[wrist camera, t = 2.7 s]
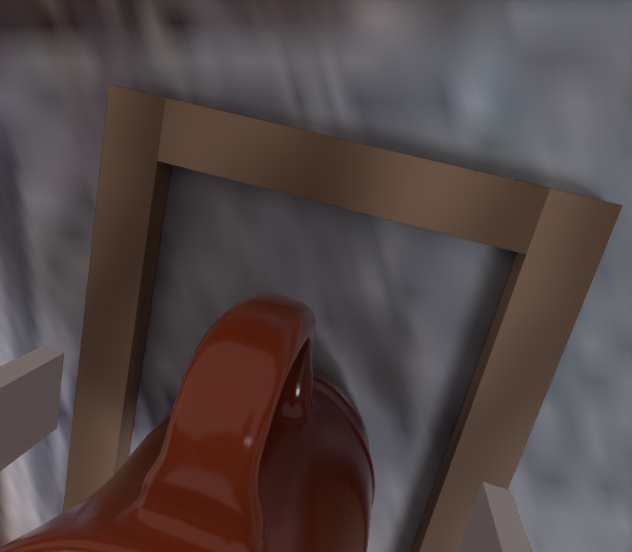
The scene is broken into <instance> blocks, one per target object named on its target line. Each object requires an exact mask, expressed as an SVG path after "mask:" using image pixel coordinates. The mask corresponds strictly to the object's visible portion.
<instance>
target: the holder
mask: <svg viewBox="0 0 632 552" xmlns="http://www.w3.org/2000/svg"><path fill="white" fill-rule="evenodd" d="M171 165H175V166H179V167H183V168H187V169H191V170H195V171H199V172H203V173H207V174H211V175H215V176H219V177H223V178H227V179H230V180H234V181H238V182H242V183H246V184H250V185H254V186H258V187H262V188H266V189H270V190H274V191H278V192H282V193H286V194H289V195H293V196H297V197H301V198H305V199H309V200H313V201H317V202H321V203H325V204H329V205H333V206H337V207H341V208H345V209H348V210H352V211H356V212H360V213H364V214H368V215H372V216H376V217H380V218H384V219H388V220H392V221H396V222H400V223H404V224H408V225H411V226H415V227H419V228H423V229H427V230H431V231H435V232H439V233H443V234H447V235H451V236H455V237H459V238H463V239H467V240H470V241H474V242H478V243H482V244H486V245H490V246H494V247H498V248H502V249H506V250H510V251H514V252H517V254H516V257H515V259H514V262H513V265H512V268H511V271H510V273H509V276H508V279H507V282H506V285H505V288H504V290H503V293H502V296H501V299H500V302H499V304H498V307H497V310H496V313H495V316H494V319H493V321H492V324H491V327H490V330H489V333H488V335H487V338H486V341H485V344H484V347H483V350H482V352H481V355H480V358H479V361H478V364H477V366H476V369H475V372H474V375H473V378H472V381H471V383H470V386H469V389H468V392H467V395H466V397H465V400H464V403H463V406H462V409H461V412H460V414H459V417H458V420H457V423H456V426H455V428H454V431H453V434H452V437H451V440H450V443H449V445H448V448H447V451H446V454H445V457H444V459H443V462H442V465H441V468H440V471H439V474H438V476H437V479H436V482H435V485H434V488H433V490H432V493H431V496H430V499H429V502H428V505H427V507H426V510H425V513H424V516H423V519H422V521H421V524H420V527H419V530H418V533H417V536H416V538H415V541H414V544H413V547H412V550H411V552H456V550H457V547H458V545H459V542H460V540H461V537H462V535H463V532H464V529H465V527H466V524H467V522H468V519H469V517H470V514H471V511H472V509H473V506H474V504H475V501H476V499H477V496H478V493H479V491H480V488H481V486H482V483H483V482H485V483H488V484H492V485H495V486H498V487H501V488H504V489H508V487H509V484H510V482H511V479H512V477H513V474H514V472H515V469H516V467H517V464H518V462H519V460H520V457H521V455H522V452H523V450H524V447H525V445H526V442H527V440H528V437H529V435H530V432H531V430H532V427H533V425H534V423H535V420H536V418H537V415H538V413H539V410H540V408H541V405H542V403H543V400H544V398H545V395H546V393H547V390H548V388H549V385H550V383H551V381H552V378H553V376H554V373H555V371H556V368H557V366H558V363H559V361H560V358H561V356H562V353H563V351H564V348H565V346H566V344H567V341H568V339H569V336H570V334H571V331H572V329H573V326H574V324H575V321H576V319H577V316H578V314H579V311H580V309H581V307H582V304H583V302H584V299H585V297H586V294H587V292H588V289H589V287H590V284H591V282H592V279H593V277H594V274H595V272H596V269H597V267H598V265H599V262H600V260H601V257H602V255H603V252H604V250H605V247H606V245H607V242H608V240H609V237H610V235H611V232H612V230H613V228H614V225H615V223H616V220H617V218H618V215H619V213H620V210H621V208H622V205H618V204H614V203H610V202H606V201H601V200H597V199H593V198H589V197H585V196H580V195H576V194H572V193H568V192H563V191H559V190H555V189H551V188H546V187H542V186H538V185H534V184H529V183H525V182H521V181H517V180H513V179H508V178H504V177H500V176H496V175H491V174H487V173H483V172H479V171H474V170H470V169H466V168H462V167H457V166H453V165H449V164H445V163H441V162H436V161H432V160H428V159H424V158H419V157H415V156H411V155H407V154H402V153H398V152H394V151H390V150H385V149H381V148H377V147H373V146H369V145H364V144H360V143H356V142H352V141H347V140H343V139H339V138H335V137H330V136H326V135H322V134H318V133H313V132H309V131H305V130H301V129H297V128H292V127H288V126H284V125H280V124H275V123H271V122H267V121H263V120H258V119H254V118H250V117H246V116H241V115H237V114H233V113H229V112H225V111H220V110H216V109H212V108H208V107H203V106H199V105H195V104H191V103H186V102H182V101H178V100H174V99H169V98H165V97H161V96H157V95H153V94H148V93H144V92H140V91H136V90H131V89H127V88H123V87H119V86H114V85H110V84H109V89H108V98H107V108H106V117H105V126H104V136H103V145H102V154H101V164H100V173H99V182H98V192H97V201H96V210H95V220H94V229H93V238H92V248H91V257H90V266H89V276H88V285H87V295H86V304H85V313H84V323H83V332H82V341H81V351H80V360H79V369H78V379H77V388H76V397H75V407H74V416H73V425H72V435H71V444H70V453H69V463H68V472H67V481H66V491H65V500H64V509H63V513H64V512H66V511H67V510H69V509H71V508H72V507H74V506H76V505H77V504H79V503H80V502H82V501H83V500H85V499H86V498H88V497H89V496H91V495H92V494H93V493H95V492H96V491H97V490H98V489H100V488H101V487H102V486H103V485H104V484H105V483H106V482H107V481H108V480H109V479H110V478H111V477H112V476H113V475H114V474H115V473H116V472H117V471H118V470H119V468H120V467H121V466H122V465H123V464H124V463H125V461H126V460H127V459H128V458H129V451H130V444H131V437H132V430H133V424H134V417H135V410H136V403H137V396H138V389H139V382H140V376H141V369H142V362H143V355H144V348H145V341H146V335H147V328H148V321H149V314H150V307H151V300H152V294H153V287H154V280H155V273H156V266H157V259H158V253H159V246H160V239H161V232H162V225H163V218H164V212H165V205H166V198H167V191H168V184H169V177H170V171H171Z"/></svg>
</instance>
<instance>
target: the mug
mask: <svg viewBox="0 0 632 552" xmlns="http://www.w3.org/2000/svg"><path fill="white" fill-rule="evenodd" d="M315 330H316V320H315V316H314V313H313V311H312V310H311V309H310V308H309V307H308V306H307V305H305V304H304V303H302V302H299V301H297V300H294V299H291V298H288V297H284V296H280V295H276V294H270V293H260V294H256V295H252V296H249V297H247V298H244V299H243V300H241V301H239V302H238V303H236V304H235V305H234V306H233V307H231V308H230V309H229V310H228V311H226V312H225V313H224V314H223V315H222V316H221V317H220V318H219V319H218V320H217V321H216V322H215V323H214V324H213V326H212V327H211V328H210V329H209V331H208V332H207V333H206V334H205V336H204V338H203V339H202V341H201V343H200V344H199V346H198V348H197V349H196V351H195V353H194V355H193V357H192V359H191V361H190V363H189V365H188V368H187V370H186V373H185V375H184V378H183V380H182V382H181V385H180V388H179V391H178V394H177V397H176V400H175V403H174V406H173V408H172V409H171V411H170V412H169V413H168V414H167V415H166V416H165V417H164V418H163V419H162V420H161V421H160V422H159V423H158V425H157V426H156V427H155V428H154V429H153V430H152V431H151V432H150V433H149V434H148V435H147V437H146V438H145V439H144V440H143V441H142V442H141V444H140V445H139V446H138V447H137V448H136V449H135V451H134V452H133V453H132V454H131V456H130V457H129V458H128V459H127V460H126V461H125V463H124V464H123V465H122V466H121V467H120V468H119V470H118V471H117V472H116V473H115V474H114V475H113V476H112V477H111V478H110V479H109V480H108V481H107V482H106V483H105V484H104V485H103V486H102V487H101V488H100V489H98V490H97V491H96V492H95V493H93V494H92V495H91V496H89V497H88V498H86V499H85V500H83V501H82V502H80V503H79V504H77V505H76V506H74V507H72V508H71V509H69V510H67V511H66V512H64V513H62V514H61V515H59V516H57V517H55V518H54V519H52V520H50V521H48V522H47V523H45V524H43V525H41V526H40V527H38V528H36V529H34V530H32V531H30V532H28V533H27V534H25V535H23V536H21V537H19V538H17V539H15V540H13V541H11V542H10V543H8V544H6V545H4V546H2V547H0V552H367V547H368V539H369V529H370V518H371V509H372V505H373V500H374V493H375V478H374V469H373V464H372V460H371V456H370V451H369V442H368V437H367V433H366V429H365V426H364V423H363V421H362V418H361V416H360V414H359V412H358V410H357V409H356V407H355V405H354V404H353V402H352V401H351V400H350V398H349V397H348V396H347V394H346V393H345V392H344V391H343V390H342V389H341V387H340V386H339V385H338V384H337V383H336V382H335V381H334V380H332V379H331V378H330V377H328V376H327V375H325V374H324V373H322V372H320V371H318V370H316V369H314V368H313V367H312V350H313V343H314V337H315Z"/></svg>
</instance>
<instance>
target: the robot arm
mask: <svg viewBox="0 0 632 552" xmlns="http://www.w3.org/2000/svg"><path fill="white" fill-rule="evenodd" d="M63 358H64V353H63V352H60V351H57V350H53V349H50V348H47V347H44V346H41V347H39V348H37V349H35V350H33V351H31V352H29V353H27V354H25V355H23V356H21V357H19V358H17V359H15V360H13V361H11V362H9V363H7V364H5V365H3V366H1V367H0V471H1V470H3V469H4V468H5V467H7V466H8V465H9V464H11V463H12V462H13V461H14V460H16V459H17V458H18V457H20V456H21V455H22V454H24V453H25V452H26V451H28V450H29V449H30V448H31V447H33V446H34V445H35V444H37V443H38V442H39V441H41V440H42V439H43V438H45V437H46V436H47V435H48V434H50V433H51V432H52V431H54V430H55V429H56V428H57V422H58V411H59V400H60V390H61V379H62V369H63ZM456 552H532V550H531V547H530V544H529V541H528V538H527V536H526V533H525V530H524V527H523V524H522V522H521V519H520V516H519V513H518V511H517V508H516V505H515V502H514V499H513V497H512V494H511V491H510V490H508V489H504V488H501V487H498V486H495V485H492V484H488V483H485V482H483V483H482V486H481V488H480V491H479V493H478V496H477V499H476V501H475V504H474V506H473V509H472V511H471V514H470V517H469V519H468V522H467V524H466V527H465V529H464V532H463V535H462V537H461V540H460V542H459V545H458V547H457V550H456Z"/></svg>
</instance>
